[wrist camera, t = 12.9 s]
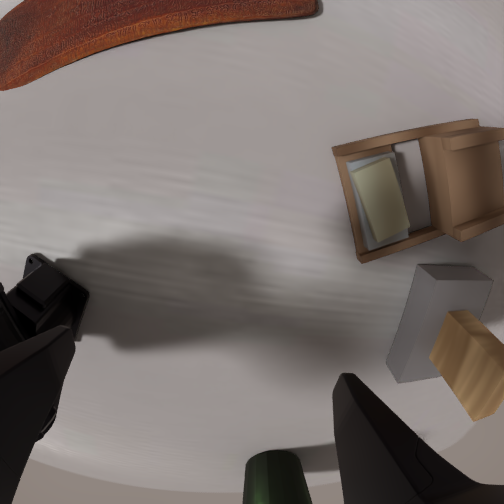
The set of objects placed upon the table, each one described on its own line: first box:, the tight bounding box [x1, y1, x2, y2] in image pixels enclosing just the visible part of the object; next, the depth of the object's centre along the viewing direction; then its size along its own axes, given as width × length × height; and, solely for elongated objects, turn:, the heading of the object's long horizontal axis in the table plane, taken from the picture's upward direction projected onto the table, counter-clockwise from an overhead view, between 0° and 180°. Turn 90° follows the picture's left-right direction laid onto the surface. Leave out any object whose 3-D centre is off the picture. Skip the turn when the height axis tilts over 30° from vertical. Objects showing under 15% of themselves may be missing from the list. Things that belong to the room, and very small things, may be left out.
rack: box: [332, 119, 504, 264], centre depth 18 cm, size 13×8×4 cm, turn 108°
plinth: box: [386, 264, 494, 384], centre depth 22 cm, size 7×10×3 cm
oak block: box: [429, 310, 504, 422], centre depth 17 cm, size 2×5×8 cm, turn 176°
